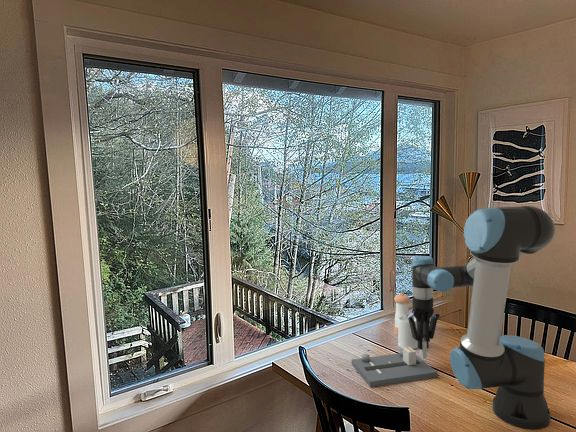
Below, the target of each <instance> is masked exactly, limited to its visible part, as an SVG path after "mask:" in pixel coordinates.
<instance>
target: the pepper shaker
mask: <svg viewBox="0 0 576 432" xmlns="http://www.w3.org/2000/svg"><path fill="white" fill-rule="evenodd" d="M393 300H394V302H395V314H394V326H393V327H394V328H393V330H394V331H393V333H394V335H395V336H398V317H400V316H407V315H410V313H409V303H410V301H411V299H410V297H409V295H407V294H404V293H402V292H401V293H400V294H396V295H395V296H394V299H393Z"/></svg>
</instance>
